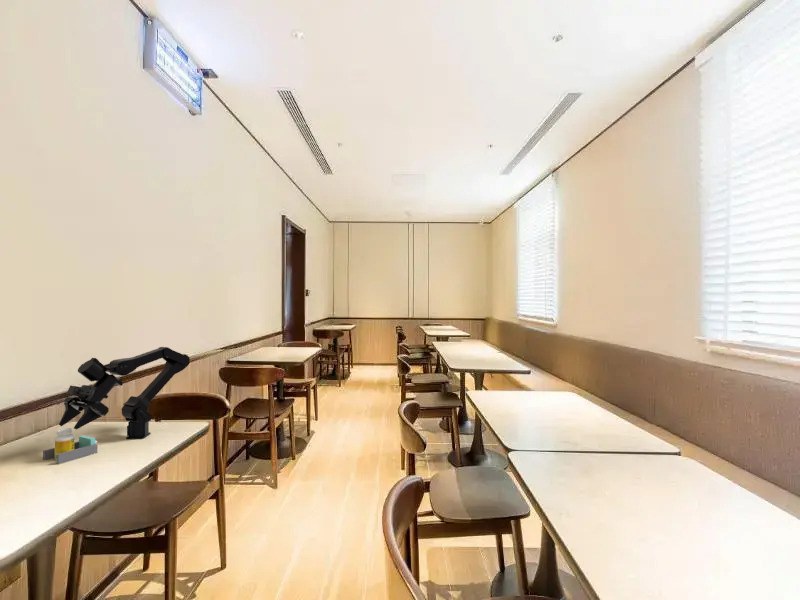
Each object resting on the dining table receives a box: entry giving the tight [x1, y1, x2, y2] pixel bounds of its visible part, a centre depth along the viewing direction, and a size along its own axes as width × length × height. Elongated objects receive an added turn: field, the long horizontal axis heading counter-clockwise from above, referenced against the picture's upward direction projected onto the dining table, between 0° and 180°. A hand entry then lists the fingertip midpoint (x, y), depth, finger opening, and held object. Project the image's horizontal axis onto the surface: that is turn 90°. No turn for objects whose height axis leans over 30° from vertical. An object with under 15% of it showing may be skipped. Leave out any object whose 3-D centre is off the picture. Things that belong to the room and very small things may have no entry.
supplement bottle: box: [54, 427, 75, 461], centre depth 150 cm, size 5×5×10 cm
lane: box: [42, 435, 98, 465], centre depth 153 cm, size 14×10×5 cm
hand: (67, 427), depth 151 cm, fingers open, 9 cm apart
